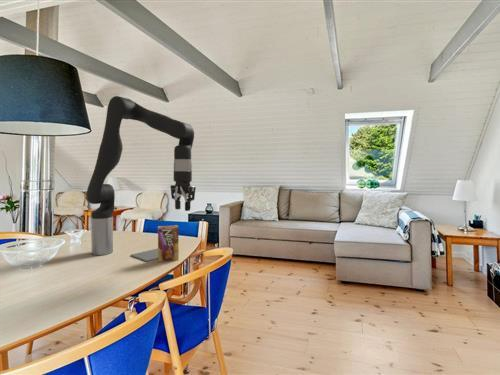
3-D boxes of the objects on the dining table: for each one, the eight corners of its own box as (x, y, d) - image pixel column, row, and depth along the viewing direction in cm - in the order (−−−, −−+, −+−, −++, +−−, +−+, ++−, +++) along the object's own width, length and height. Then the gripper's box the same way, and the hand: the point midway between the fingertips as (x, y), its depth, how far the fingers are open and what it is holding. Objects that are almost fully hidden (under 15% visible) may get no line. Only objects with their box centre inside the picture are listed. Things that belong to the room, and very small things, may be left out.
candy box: (178, 257, 132) (178, 224, 131) (178, 260, 128) (178, 226, 127) (157, 259, 129) (157, 225, 129) (158, 262, 125) (158, 227, 125)
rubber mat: (130, 255, 134) (130, 254, 134) (160, 249, 146) (160, 247, 146) (147, 262, 125) (147, 260, 125) (177, 254, 138) (177, 252, 137)
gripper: (164, 170, 122) (165, 209, 123) (186, 170, 113) (186, 212, 114) (179, 170, 128) (179, 207, 129) (200, 170, 119) (200, 210, 120)
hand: (182, 209), depth 121 cm, fingers open, 5 cm apart
